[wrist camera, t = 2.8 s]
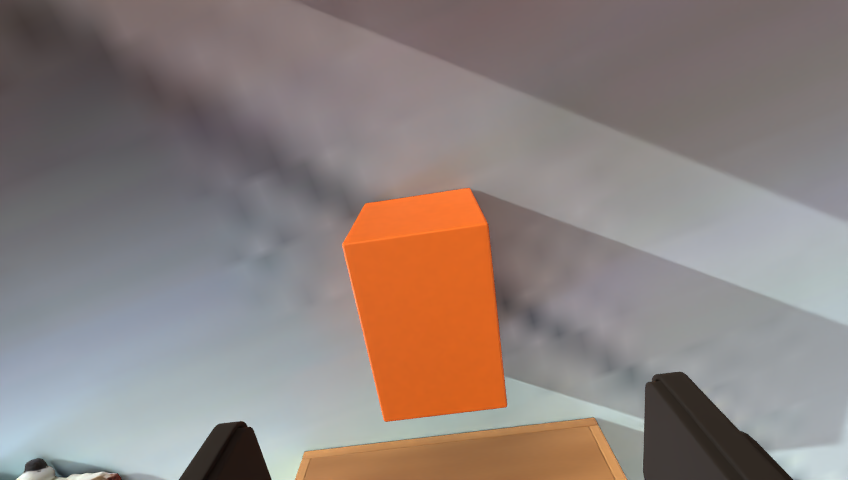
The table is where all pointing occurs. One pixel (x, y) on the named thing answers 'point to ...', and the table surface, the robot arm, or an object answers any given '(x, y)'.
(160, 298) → the table surface
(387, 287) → the block
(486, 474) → the carton
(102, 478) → the chocolate cake
